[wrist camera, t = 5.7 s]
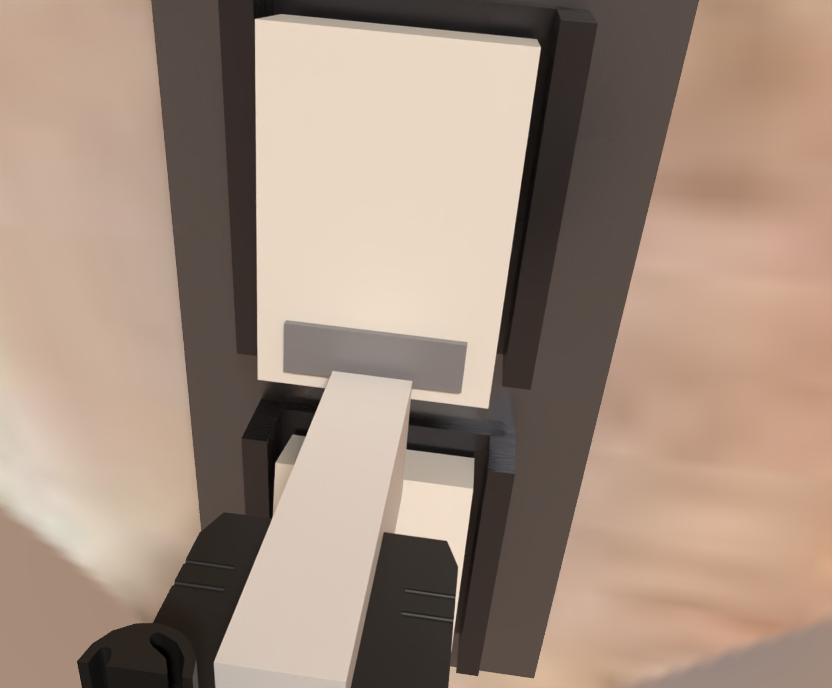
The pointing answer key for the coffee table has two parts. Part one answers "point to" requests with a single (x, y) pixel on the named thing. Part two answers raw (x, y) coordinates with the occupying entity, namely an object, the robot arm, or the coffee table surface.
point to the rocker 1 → (386, 200)
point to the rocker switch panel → (525, 289)
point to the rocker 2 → (417, 497)
